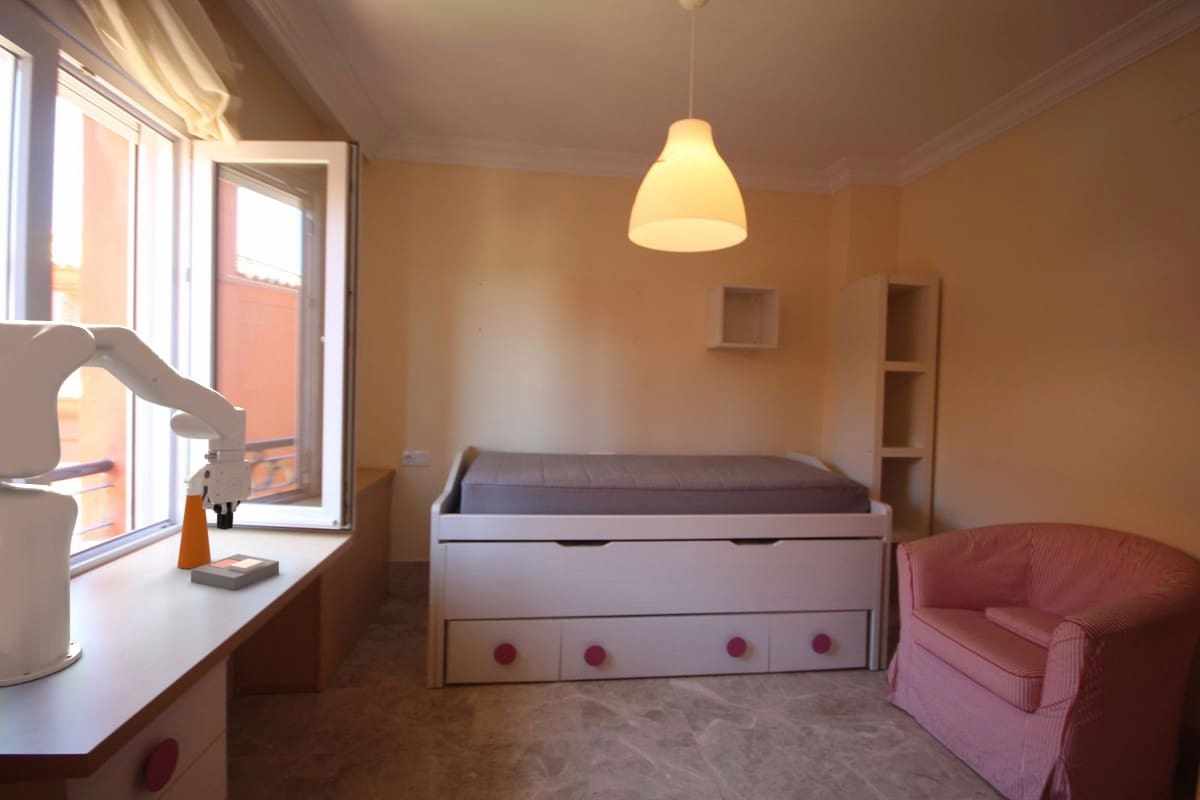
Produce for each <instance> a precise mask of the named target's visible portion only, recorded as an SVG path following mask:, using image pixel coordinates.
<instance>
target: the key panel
mask: <svg viewBox="0 0 1200 800" xmlns="http://www.w3.org/2000/svg"><path fill="white" fill-rule="evenodd" d="M226 559H232V560H237V561H243V560H246V559H254V560H259V561H264V566H262V567H259V568H257V569H254V570H251V571H249V572H246V573H243V572H238V571H233V570H230V567H227V568H224V569H222V568H217V567H212V566H209V565H211V564H214V563H217V562H220V561H223V560H226ZM279 568H280V561H278V560H274V559H268V558H263V557H256V556H251V555H248V554H247V555H246V554H240V553H237V554H233V555H231V556H227V557H224V558H221V559H219V560H215V561H211V562H210V563H208V564H206V565H203V566H200V567H197V568H190V582H192V583H197V584H201V585H207V586H211V587H216V588H221V589H225V590H230V591H237V590H239V589H242V588H244V587H246V586H249V585H251V584H254V583H256V582H259V581H261V580H264V579H266V578H269V577H272V576H275V575H276V574H279V573H280V572H279V571H280V569H279Z"/></svg>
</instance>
